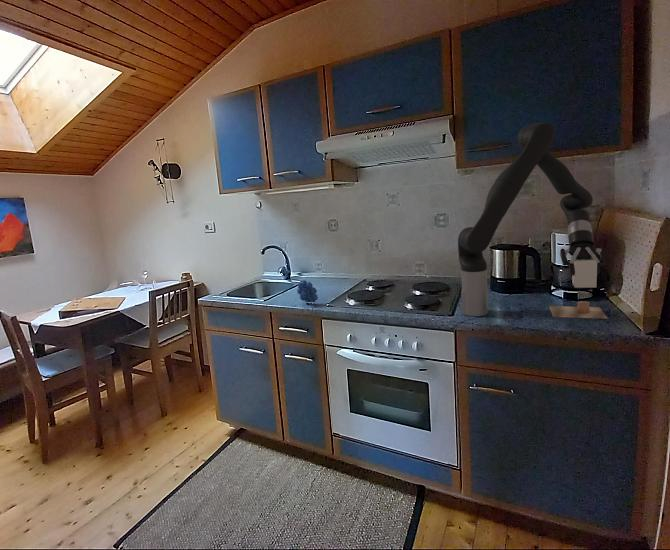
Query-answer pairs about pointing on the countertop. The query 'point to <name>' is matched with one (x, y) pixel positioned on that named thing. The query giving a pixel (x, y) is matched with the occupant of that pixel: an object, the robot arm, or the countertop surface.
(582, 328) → the countertop surface
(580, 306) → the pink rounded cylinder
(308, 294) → the grapes
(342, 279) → the countertop surface
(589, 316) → the board
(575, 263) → the light grey cuboid block
